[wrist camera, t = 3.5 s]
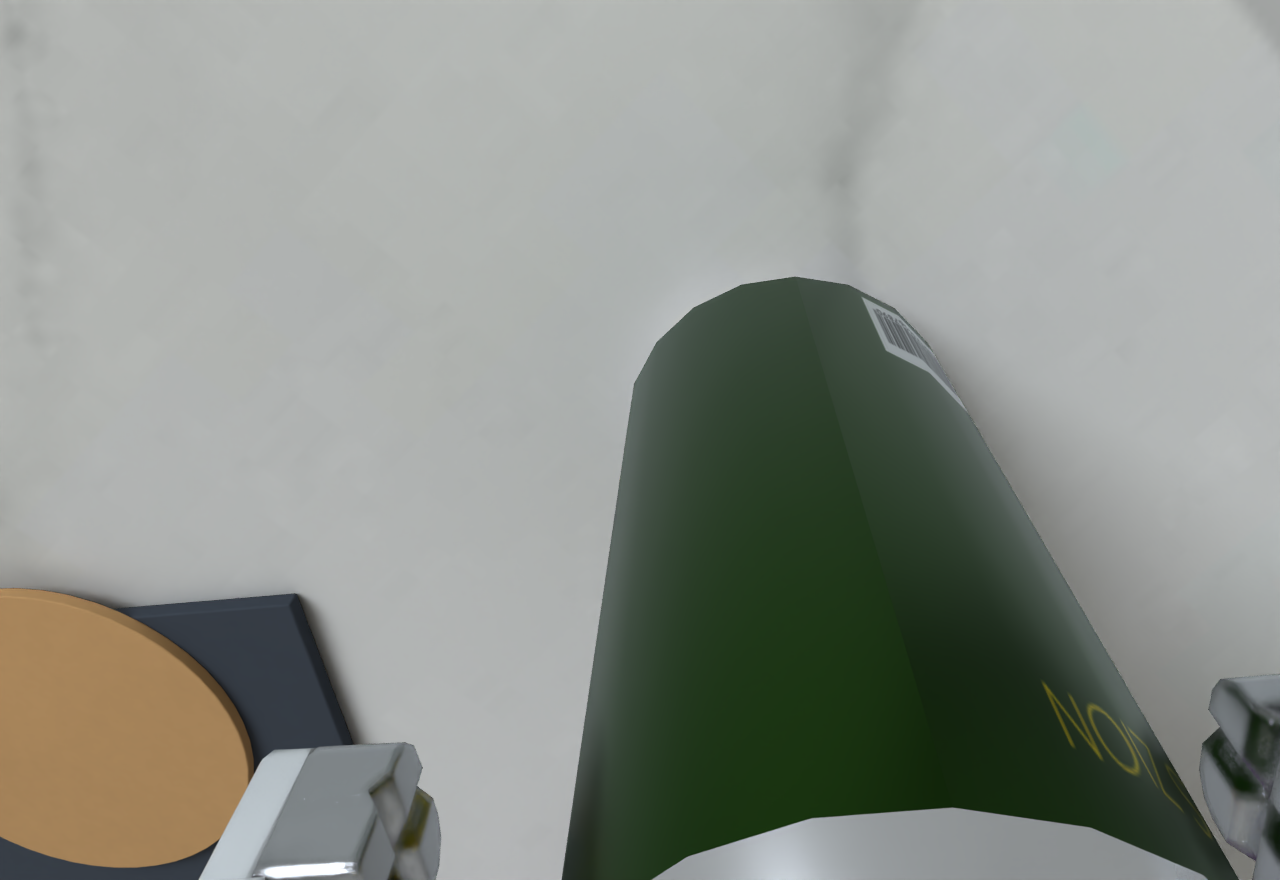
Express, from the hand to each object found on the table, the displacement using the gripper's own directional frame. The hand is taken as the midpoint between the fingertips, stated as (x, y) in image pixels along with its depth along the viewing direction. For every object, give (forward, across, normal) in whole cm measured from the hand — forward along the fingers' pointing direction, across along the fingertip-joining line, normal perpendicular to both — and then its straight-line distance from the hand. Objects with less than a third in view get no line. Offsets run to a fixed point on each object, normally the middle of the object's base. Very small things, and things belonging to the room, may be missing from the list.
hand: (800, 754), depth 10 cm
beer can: (+8, -1, 0) cm, 8 cm away
